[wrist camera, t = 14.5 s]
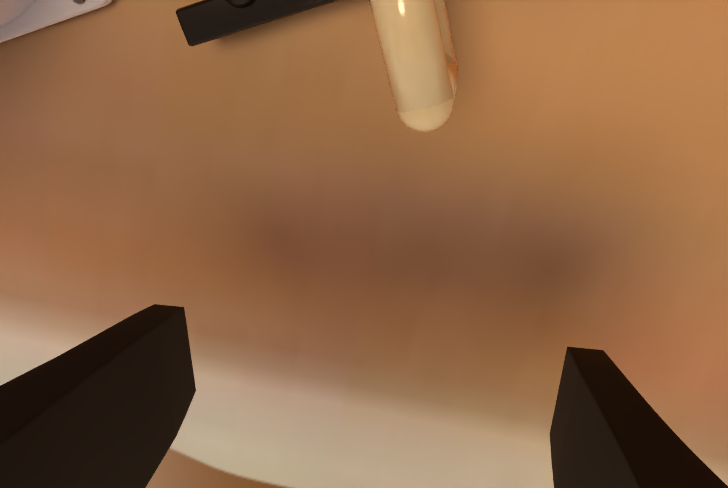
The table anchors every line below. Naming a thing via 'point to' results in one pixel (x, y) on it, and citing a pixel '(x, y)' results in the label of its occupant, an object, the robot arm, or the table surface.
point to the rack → (235, 16)
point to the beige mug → (418, 60)
